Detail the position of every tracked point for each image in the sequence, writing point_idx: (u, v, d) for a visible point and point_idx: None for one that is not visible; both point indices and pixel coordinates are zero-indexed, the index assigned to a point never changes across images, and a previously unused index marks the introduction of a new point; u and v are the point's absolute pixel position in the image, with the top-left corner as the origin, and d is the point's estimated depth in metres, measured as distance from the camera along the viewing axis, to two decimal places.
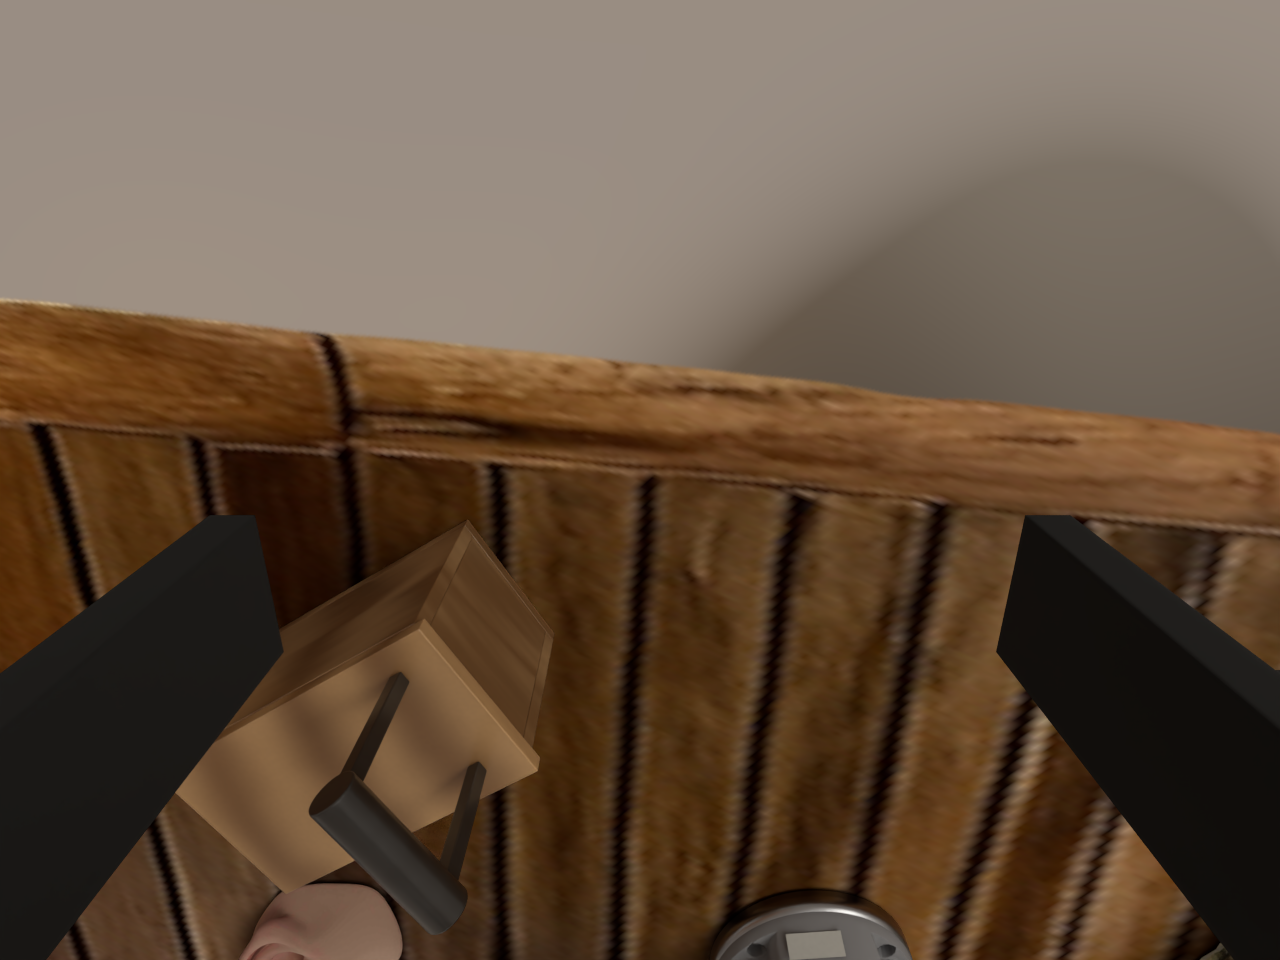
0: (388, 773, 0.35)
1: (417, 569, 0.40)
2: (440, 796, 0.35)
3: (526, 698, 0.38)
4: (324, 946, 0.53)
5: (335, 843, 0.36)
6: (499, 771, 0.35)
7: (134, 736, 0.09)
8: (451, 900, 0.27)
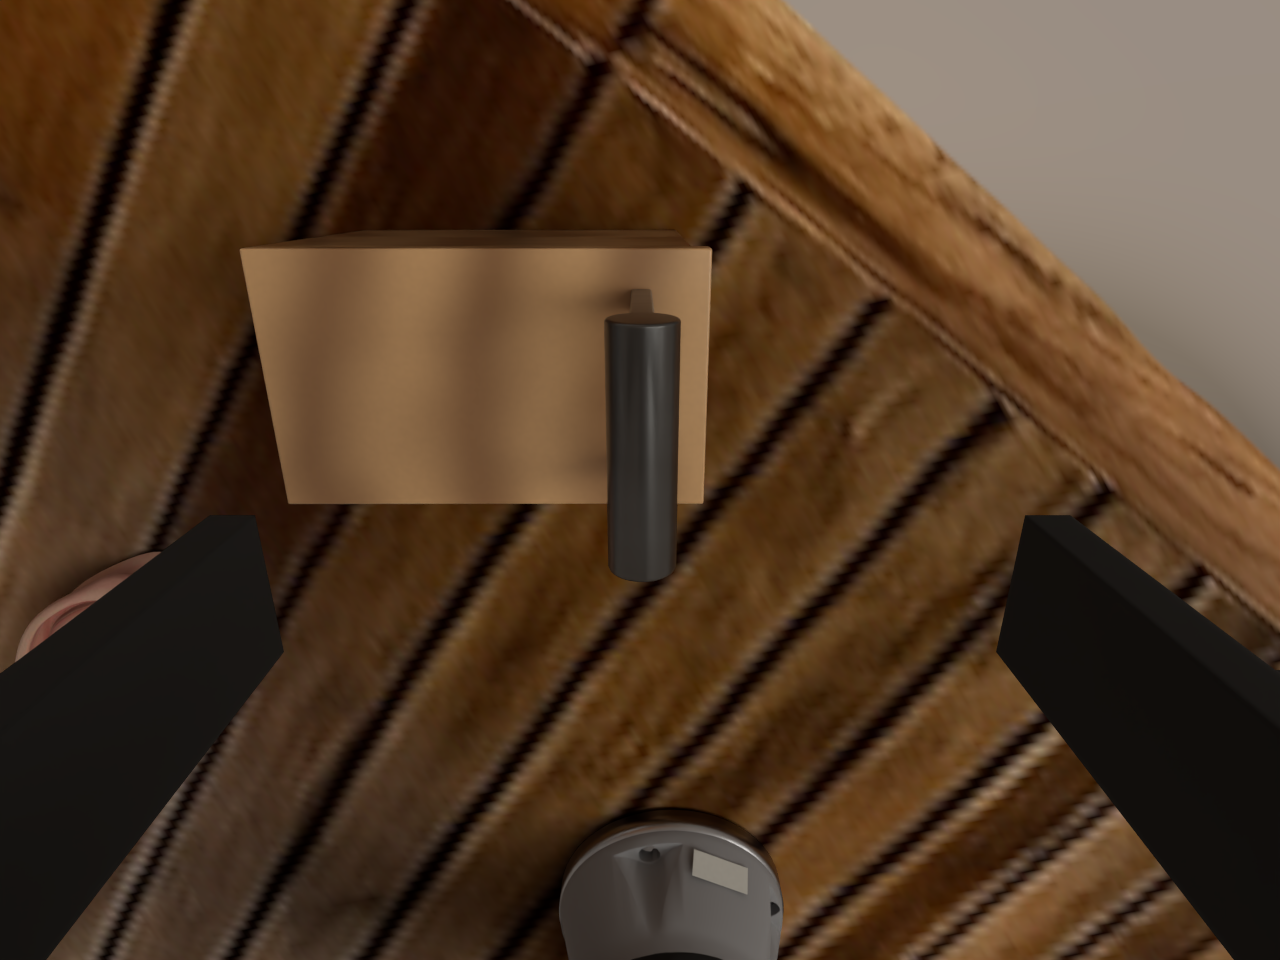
0: (535, 412, 0.26)
1: (626, 234, 0.32)
2: (572, 475, 0.27)
3: None
4: None
5: (402, 469, 0.27)
6: None
7: (133, 735, 0.09)
8: (672, 549, 0.20)
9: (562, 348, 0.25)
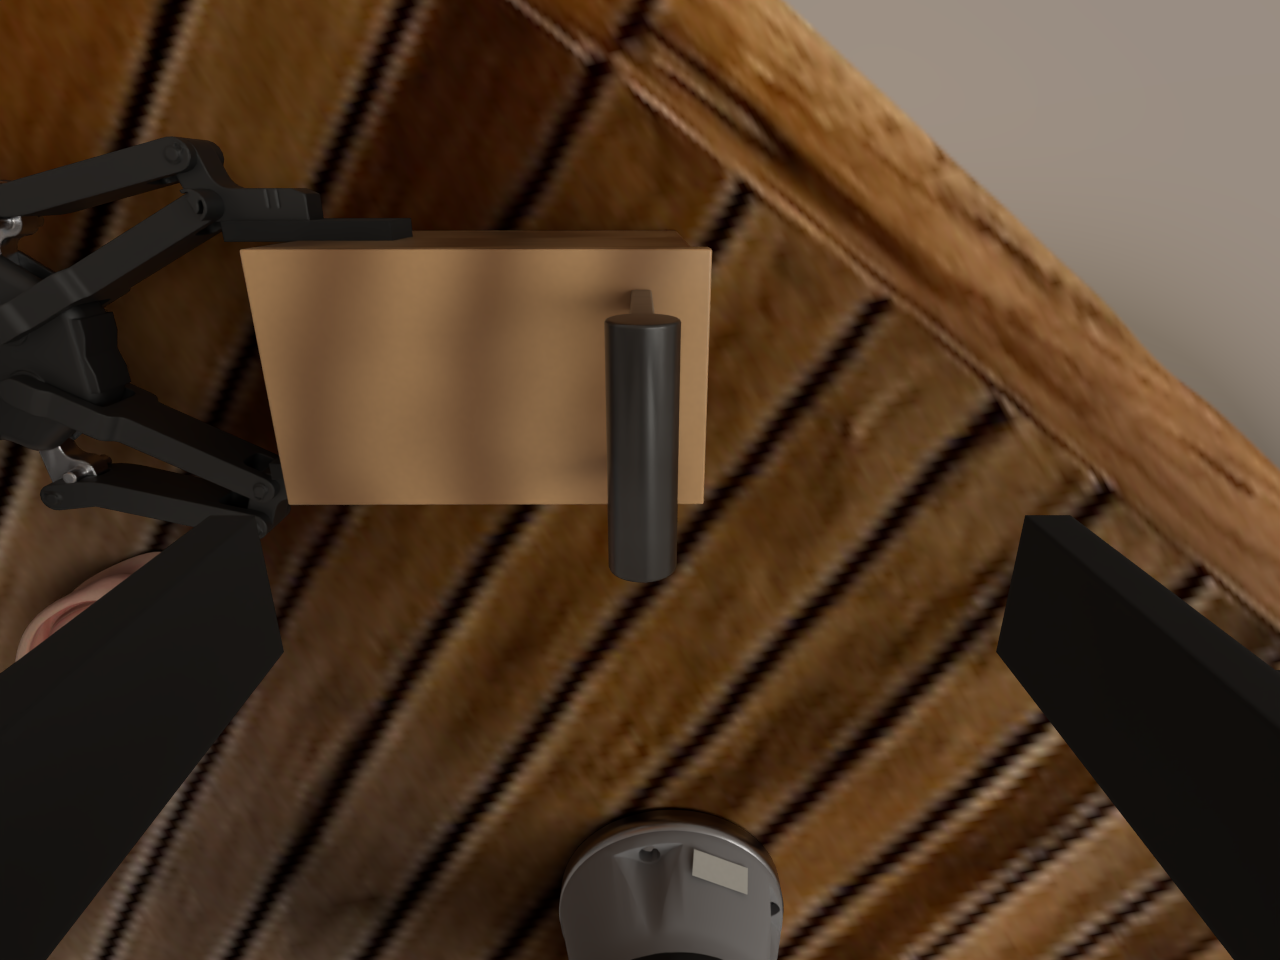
0: (535, 413, 0.26)
1: (626, 234, 0.32)
2: (572, 476, 0.27)
3: None
4: None
5: (402, 469, 0.27)
6: None
7: (133, 735, 0.09)
8: (673, 550, 0.20)
9: (562, 349, 0.25)
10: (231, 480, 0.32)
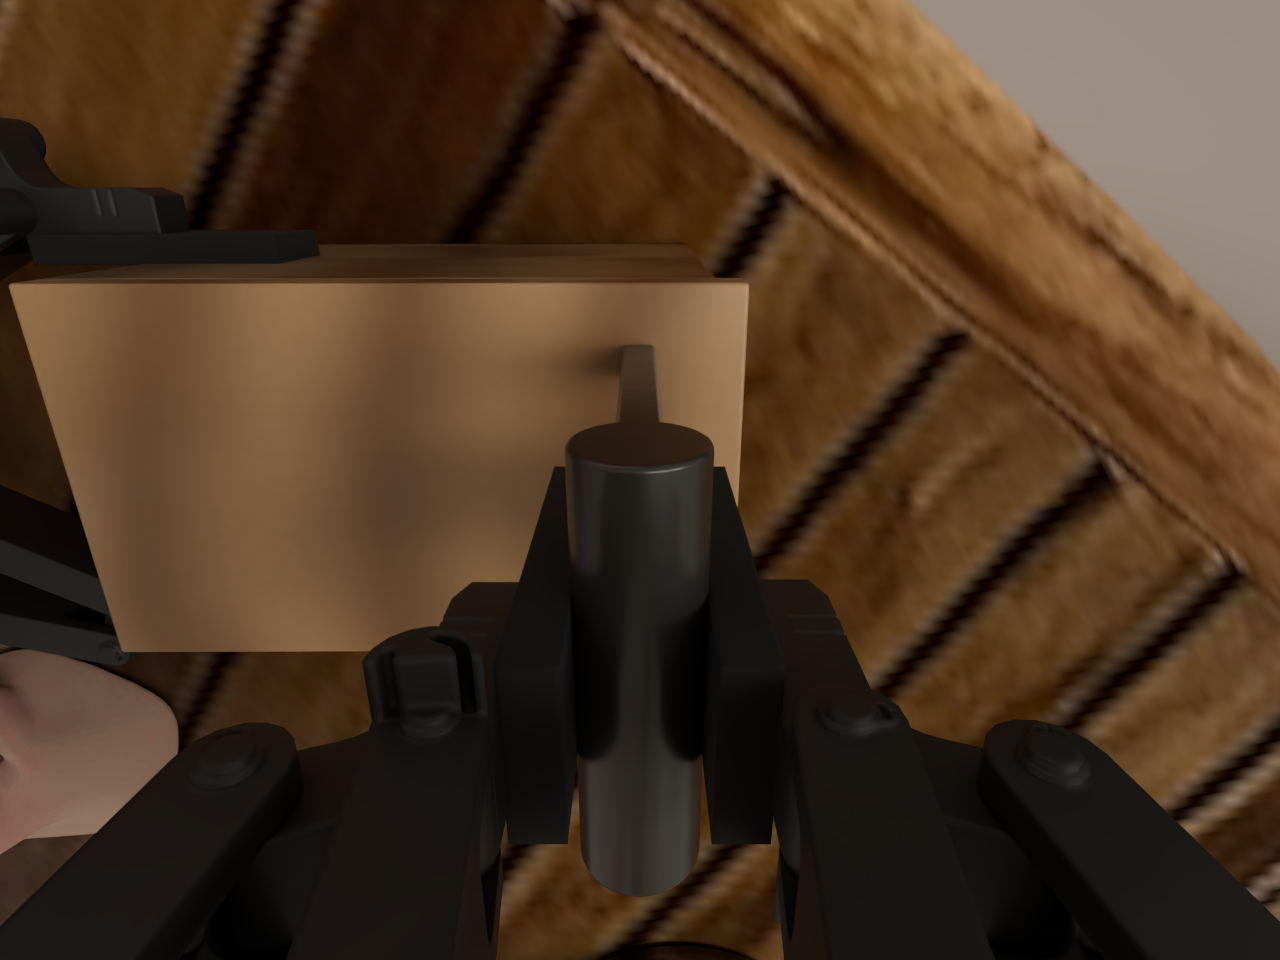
0: (480, 525, 0.17)
1: (618, 252, 0.23)
2: None
3: None
4: (47, 759, 0.32)
5: (285, 604, 0.18)
6: None
7: None
8: (694, 832, 0.11)
9: (518, 433, 0.17)
10: (75, 589, 0.23)
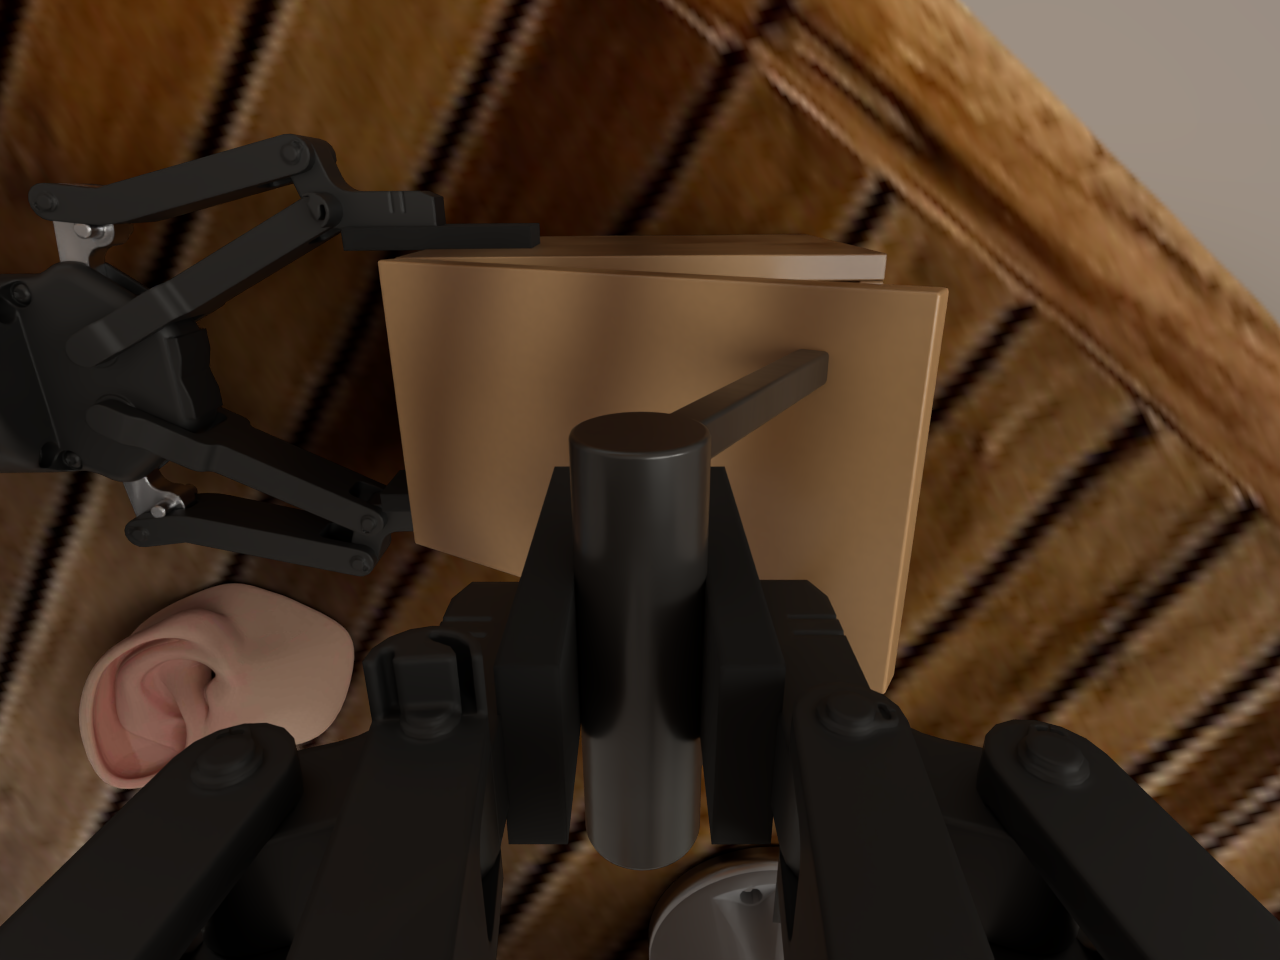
0: None
1: (769, 239, 0.29)
2: None
3: None
4: (254, 675, 0.38)
5: (513, 535, 0.22)
6: None
7: None
8: (675, 827, 0.11)
9: None
10: (337, 512, 0.29)
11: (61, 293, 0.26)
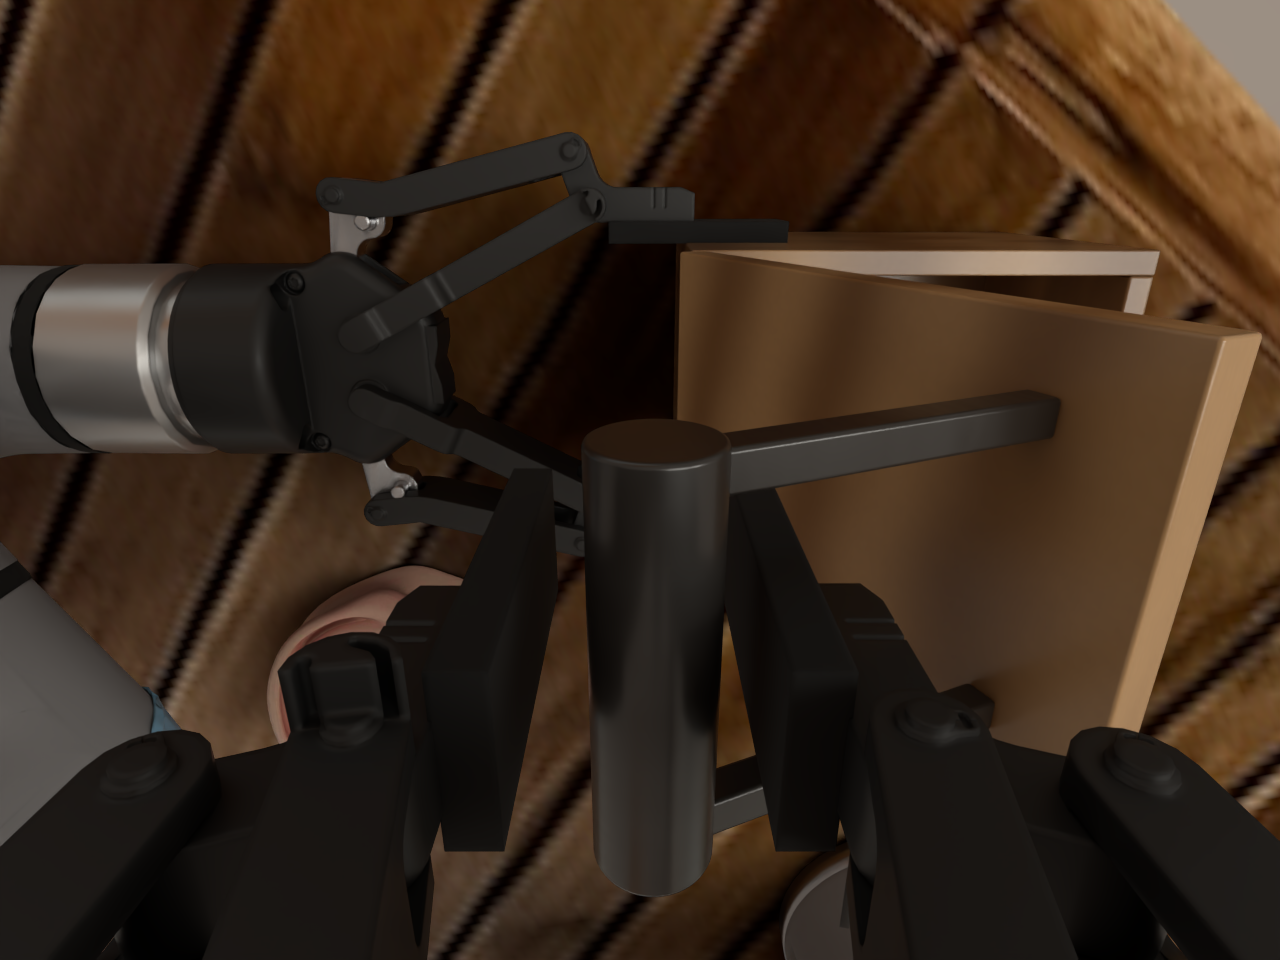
0: (861, 538, 0.17)
1: None
2: None
3: None
4: None
5: None
6: None
7: (529, 637, 0.11)
8: (652, 862, 0.11)
9: None
10: (568, 494, 0.30)
11: (334, 282, 0.27)
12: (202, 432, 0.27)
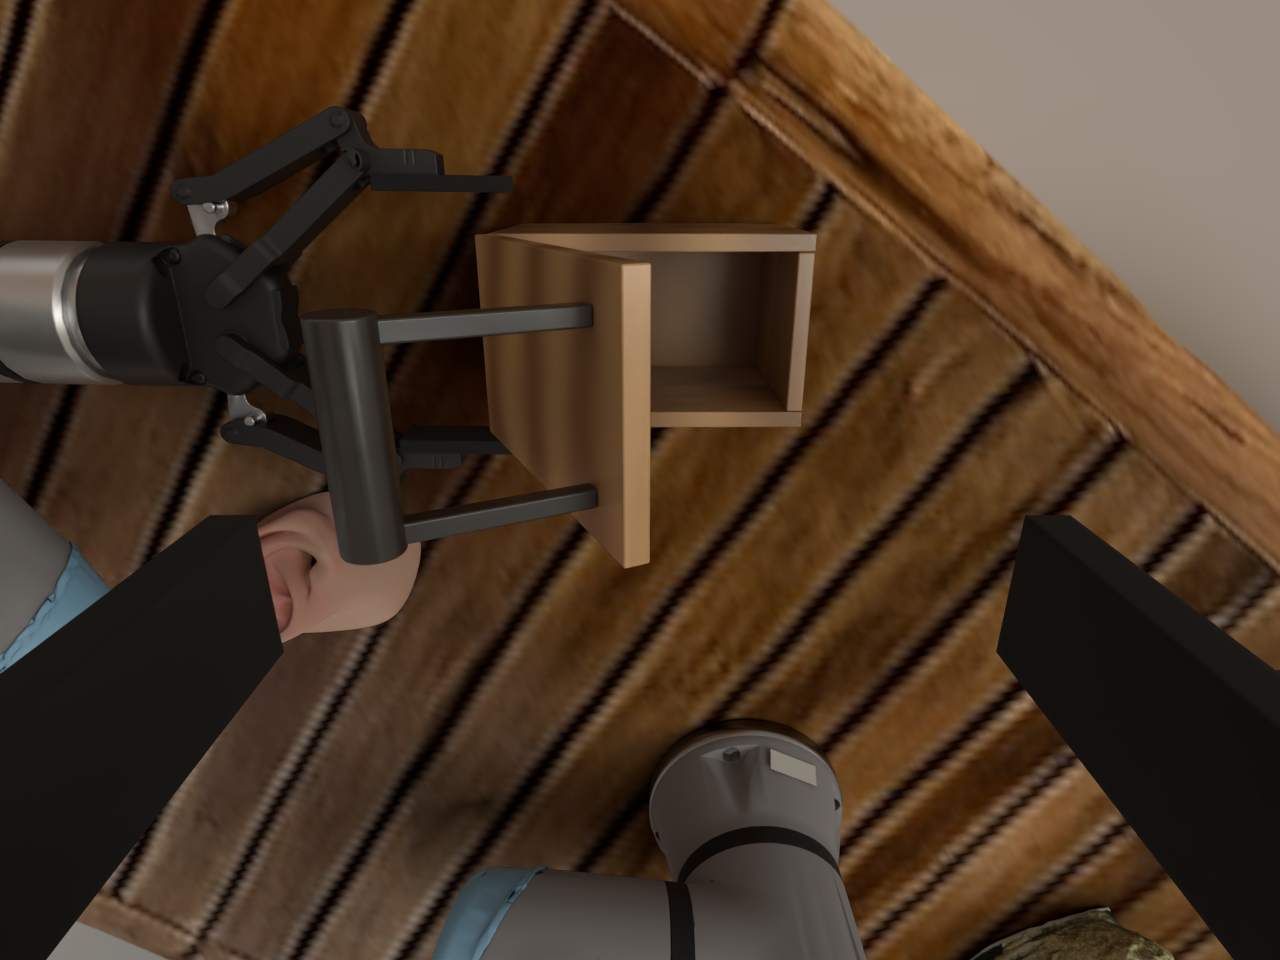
0: (552, 410, 0.27)
1: (744, 226, 0.40)
2: (566, 483, 0.27)
3: None
4: (346, 562, 0.49)
5: (515, 429, 0.32)
6: (603, 522, 0.24)
7: (134, 735, 0.09)
8: (360, 543, 0.20)
9: (560, 352, 0.25)
10: None
11: (201, 256, 0.37)
12: (103, 365, 0.37)
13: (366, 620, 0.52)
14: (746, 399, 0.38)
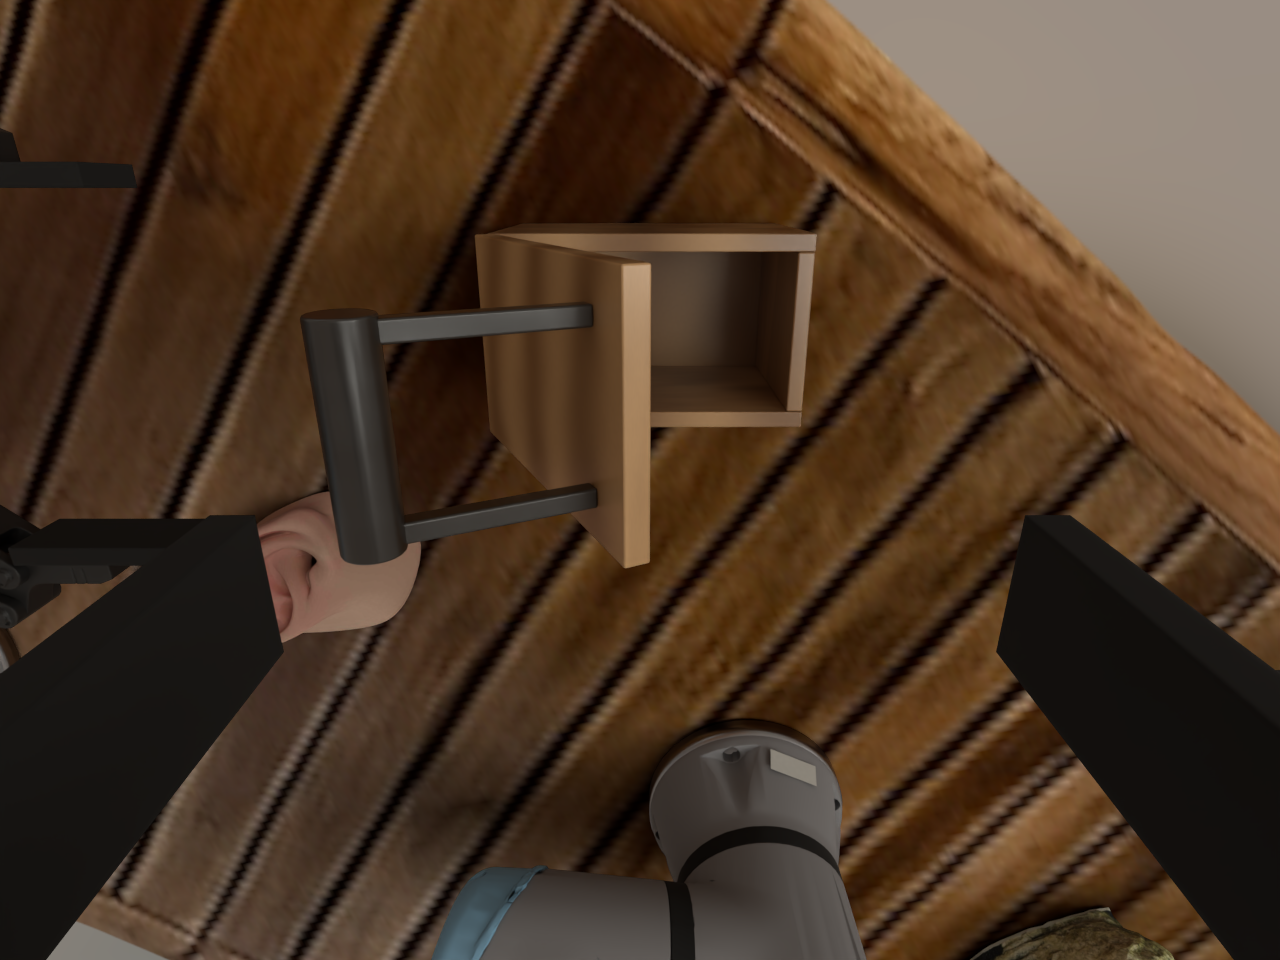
0: (552, 410, 0.27)
1: (744, 226, 0.40)
2: (566, 483, 0.27)
3: None
4: (346, 562, 0.49)
5: (515, 428, 0.32)
6: (603, 522, 0.24)
7: (134, 735, 0.09)
8: (360, 543, 0.20)
9: (560, 352, 0.25)
10: None
11: None
12: None
13: (366, 620, 0.52)
14: (746, 399, 0.38)
